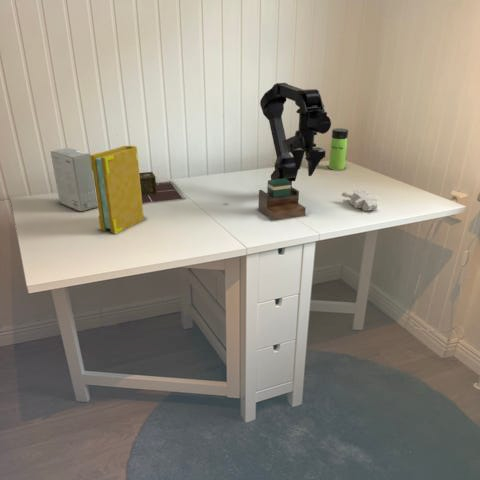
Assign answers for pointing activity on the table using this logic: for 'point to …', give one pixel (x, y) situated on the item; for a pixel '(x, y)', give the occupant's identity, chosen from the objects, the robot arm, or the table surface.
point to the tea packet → (279, 187)
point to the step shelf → (281, 205)
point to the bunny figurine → (361, 200)
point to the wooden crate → (156, 189)
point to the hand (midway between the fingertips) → (303, 172)
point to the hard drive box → (74, 178)
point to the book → (117, 188)
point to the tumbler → (338, 149)
